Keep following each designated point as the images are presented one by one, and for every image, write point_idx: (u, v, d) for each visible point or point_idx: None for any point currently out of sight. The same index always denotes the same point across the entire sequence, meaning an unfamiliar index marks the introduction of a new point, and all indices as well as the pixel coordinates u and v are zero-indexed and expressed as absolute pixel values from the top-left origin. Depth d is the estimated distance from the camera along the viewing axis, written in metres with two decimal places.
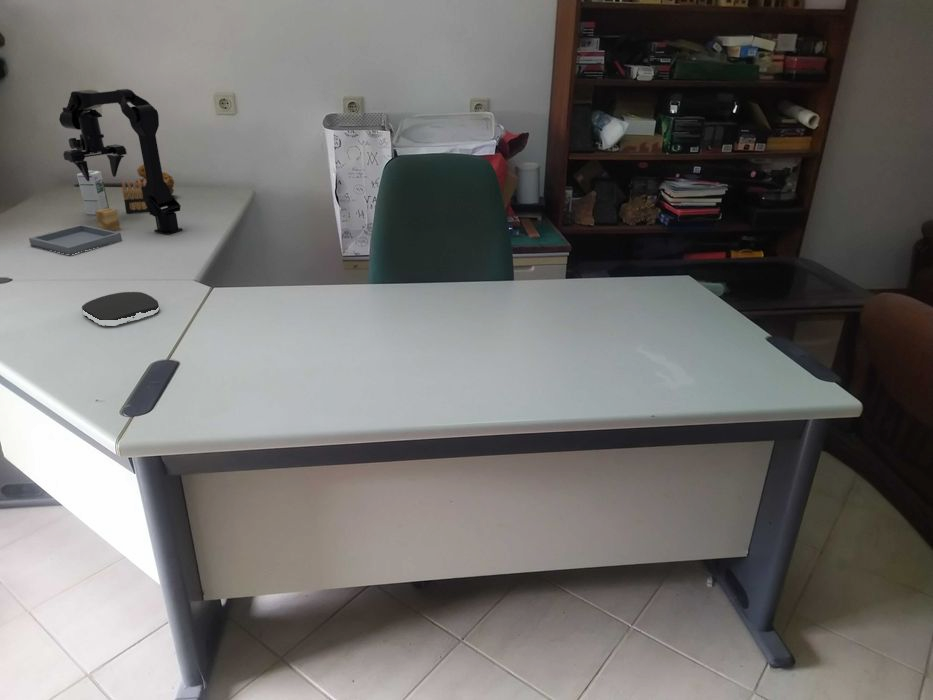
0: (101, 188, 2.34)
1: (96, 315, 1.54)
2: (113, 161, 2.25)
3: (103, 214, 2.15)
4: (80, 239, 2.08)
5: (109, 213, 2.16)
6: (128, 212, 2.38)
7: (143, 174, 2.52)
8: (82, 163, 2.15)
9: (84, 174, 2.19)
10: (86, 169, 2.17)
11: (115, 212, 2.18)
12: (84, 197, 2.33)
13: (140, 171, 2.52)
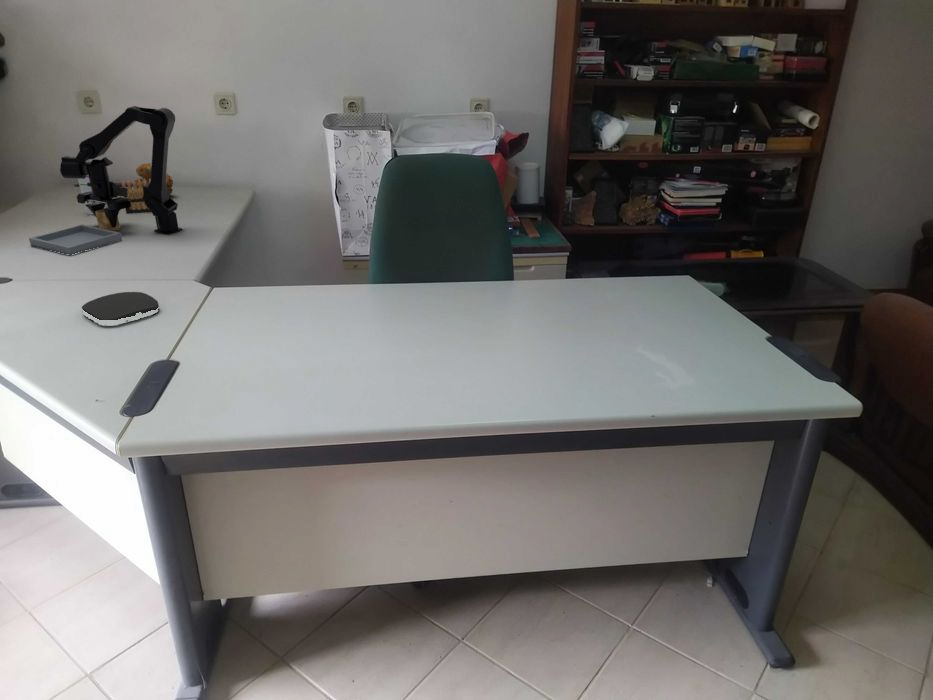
0: None
1: (96, 315, 1.54)
2: None
3: (103, 214, 2.15)
4: (80, 239, 2.08)
5: None
6: (128, 212, 2.38)
7: (142, 174, 2.52)
8: (88, 207, 2.16)
9: None
10: (94, 213, 2.17)
11: None
12: None
13: (139, 171, 2.52)
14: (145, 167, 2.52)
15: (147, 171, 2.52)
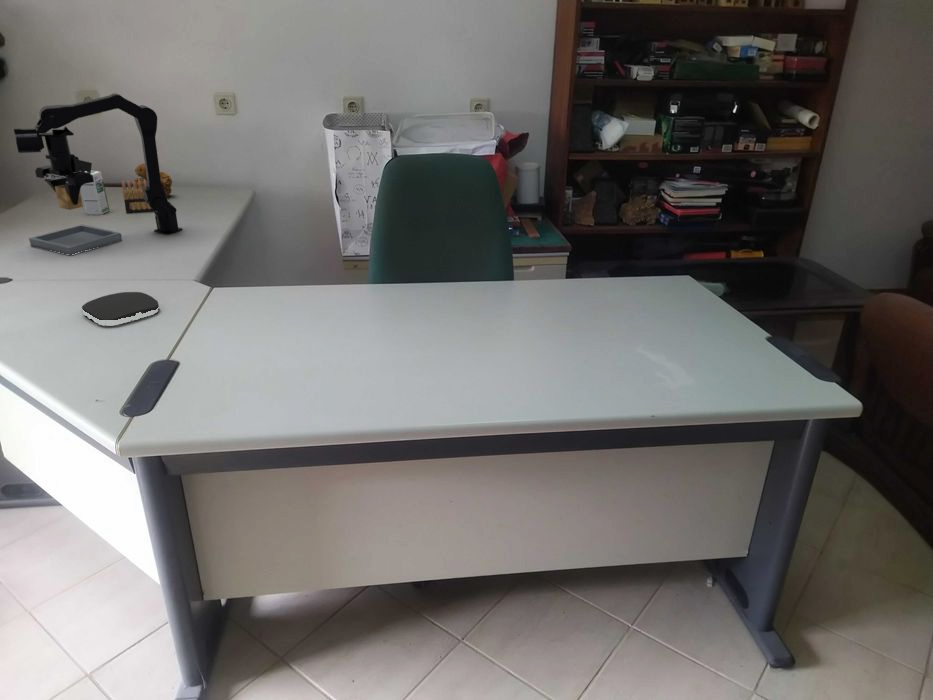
0: (101, 188, 2.34)
1: (96, 315, 1.54)
2: None
3: (63, 189, 1.98)
4: (80, 239, 2.08)
5: None
6: (128, 212, 2.38)
7: (141, 174, 2.53)
8: (47, 182, 1.99)
9: None
10: (54, 189, 2.00)
11: None
12: (84, 197, 2.33)
13: (138, 171, 2.52)
14: (144, 167, 2.52)
15: None
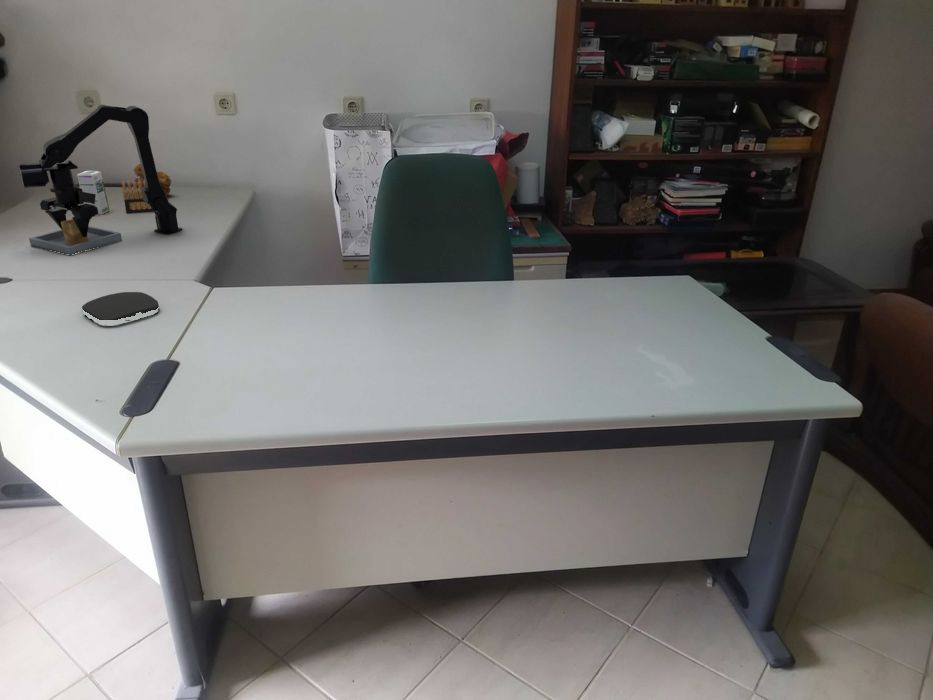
0: (101, 188, 2.34)
1: (96, 315, 1.54)
2: None
3: (69, 225, 2.01)
4: None
5: (75, 224, 2.02)
6: (128, 212, 2.38)
7: (140, 173, 2.53)
8: (48, 213, 2.03)
9: None
10: (55, 220, 2.04)
11: None
12: None
13: (137, 170, 2.53)
14: None
15: None
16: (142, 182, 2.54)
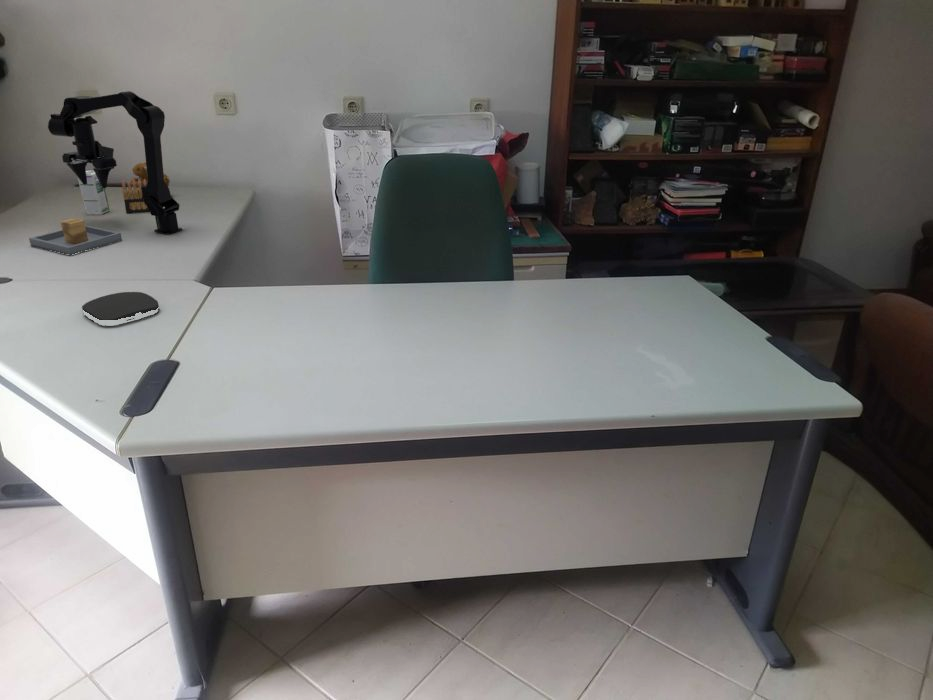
0: (101, 188, 2.34)
1: (96, 315, 1.54)
2: None
3: (69, 225, 2.01)
4: None
5: (75, 224, 2.02)
6: (128, 212, 2.38)
7: (138, 173, 2.53)
8: (69, 165, 2.17)
9: None
10: (75, 172, 2.18)
11: (82, 222, 2.04)
12: (84, 197, 2.33)
13: (135, 170, 2.53)
14: (142, 166, 2.53)
15: (144, 170, 2.53)
16: (141, 182, 2.54)
